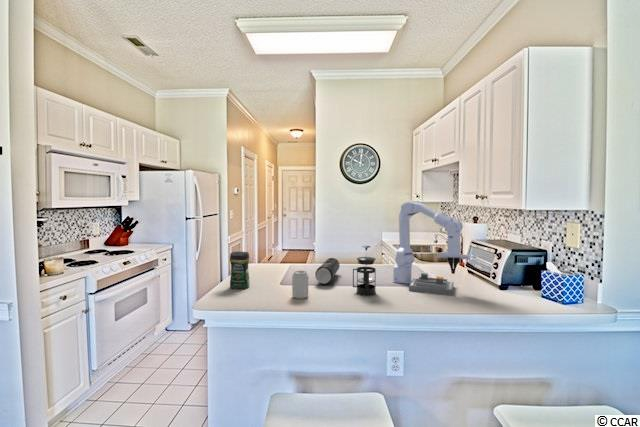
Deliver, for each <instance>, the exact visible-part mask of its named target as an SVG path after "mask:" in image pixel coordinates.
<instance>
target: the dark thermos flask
mask: <svg viewBox="0 0 640 427" xmlns="http://www.w3.org/2000/svg"><path fill="white" fill-rule="evenodd" d="M340 266H341V265H340V262H339V260H338V259H336V258H334V257H329V258H327V259H326V260H325V261H324V262H323V263H322V264H321V265H320V266H319V267H318V268H317V269H316V271H315V279H316V281H317V282H318V283H320V284H322V285H328V284H329V283H331V282H332V280H334V278H335V276H336V274H337V272H338V271H339V269H340Z"/></svg>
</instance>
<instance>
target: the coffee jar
mask: <svg viewBox="0 0 640 427" xmlns="http://www.w3.org/2000/svg"><path fill="white" fill-rule="evenodd" d="M229 262H230V278H229V280H230V281H229V287H230V288H231V289H233V288H236V289H237V290H245V289H248V288H249V287H250V282H251V281H250V275H249V262H250V254H249V252H248V251H232V252H231V253H230V254H229ZM244 288H245V289H244Z"/></svg>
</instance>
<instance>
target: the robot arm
mask: <svg viewBox="0 0 640 427" xmlns="http://www.w3.org/2000/svg"><path fill="white" fill-rule="evenodd" d="M419 213H421V214H423V215H425V216H427V217H429V218H431V219H433V222H434V223H435V224H436V225H439V226H440V227H442V228H444V229H445V231H446V232H447V233H446V234H447V235H446V236H447V241H446V242H447V243H446V244H447V245H446V246H447V248H446V249H447V251H446V252H444V253H441V252H439V253H437V259H438V258H439V259H441V258H442V259H447V262H448V264H449V265H448V266H449V267H450V270H451V271H450V272H451V275H452V274H453V275H454V274H456V268H457V266H458V264H459V262H460V260H468V261H469V260H471V255H470V254H462V253H461V231H462V230H463V226H464V225H463V223H462V222H461V221H460V220H459V219H454V217H450V216H448V215H447V214H446V213H445V212H436V211H434V210H433V209H431V208H430V207H429V206H427V205H425V204H424V203H422V202H419V201H417V200H415V201H404V202H403V203H402V204H401V205H400V211H399V213H398V229H399V230H398V233H399V234H398V235H399V238H398V239H399V248H398V249H397V251H396V254H395V255H396V256H395V257H394V258H395V260H394V262H395V264H394V265H393V276H392V277H393V278H392V283H399V284H409V285H410V283H411V282H412V280H413V279H412V270H413V269H412V266H413V264H414V262H415V256H414V252H413V249H412V248H411V238H410V237H411V234H410V233H411V232H410V219H411V218H412V217H413V216H414V215H416V214H419Z"/></svg>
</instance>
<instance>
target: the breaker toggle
mask: <svg viewBox="0 0 640 427" xmlns="http://www.w3.org/2000/svg"><path fill="white" fill-rule="evenodd" d="M435 278H436V284H443V279H444V276H436V277H435Z"/></svg>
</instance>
